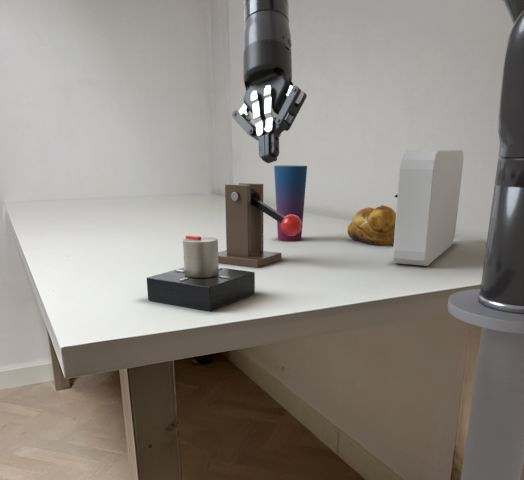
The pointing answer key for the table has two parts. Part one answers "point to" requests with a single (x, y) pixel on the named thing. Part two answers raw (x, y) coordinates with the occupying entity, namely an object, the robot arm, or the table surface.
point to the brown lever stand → (245, 228)
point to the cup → (290, 195)
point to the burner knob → (200, 256)
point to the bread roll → (373, 226)
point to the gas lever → (279, 216)
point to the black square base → (201, 288)
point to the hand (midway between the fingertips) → (269, 160)
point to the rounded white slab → (426, 205)
